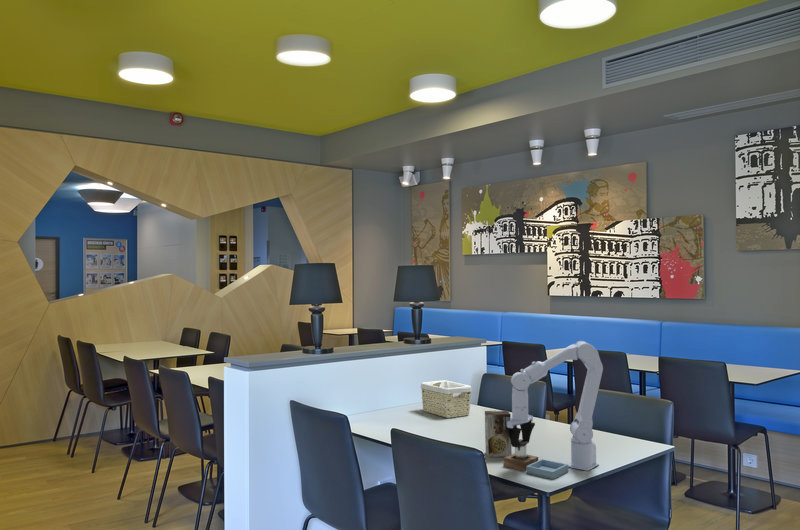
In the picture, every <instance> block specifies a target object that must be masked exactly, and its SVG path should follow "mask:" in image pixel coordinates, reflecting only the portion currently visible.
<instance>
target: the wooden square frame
mask: <svg viewBox="0 0 800 530" xmlns="http://www.w3.org/2000/svg"><path fill="white" fill-rule="evenodd" d="M502 459H503V460H502V462H503V463H502V464H503V465H502V466H503V467H505V468H508V469H509V468H510V469H514V470H518V471H521V472H522V471H524V472H526V466H528V465H530V464H532V463H535V462H537V461H539V456H537V455H536V456H535V455H530V454H527V459H526V460H519V459H515V452H513V453H512V454H511V455H509V456H503V458H502Z"/></svg>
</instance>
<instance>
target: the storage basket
mask: <svg viewBox="0 0 800 530" xmlns="http://www.w3.org/2000/svg"><path fill="white" fill-rule="evenodd" d="M420 389H421V401H422V410H423V411H424V412H425V413H430V414H432V415H436V416H439V417H442V418H448V419H450V418H457V417H464V416H469V415H470V411H471V410H470V409H471V397H472V392H473V389H472V385H469V384H465V383H464V384H463V383H460V382H455V381H451V380H447V379H442V380H434V381H433V380H432V381H425V382H424V381H423V382H421V384H420ZM423 411H422V412H423Z"/></svg>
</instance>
